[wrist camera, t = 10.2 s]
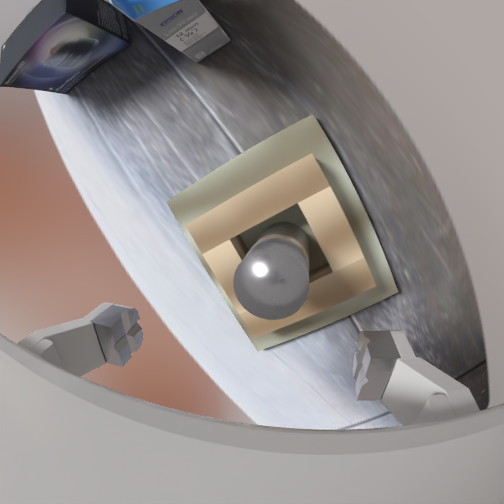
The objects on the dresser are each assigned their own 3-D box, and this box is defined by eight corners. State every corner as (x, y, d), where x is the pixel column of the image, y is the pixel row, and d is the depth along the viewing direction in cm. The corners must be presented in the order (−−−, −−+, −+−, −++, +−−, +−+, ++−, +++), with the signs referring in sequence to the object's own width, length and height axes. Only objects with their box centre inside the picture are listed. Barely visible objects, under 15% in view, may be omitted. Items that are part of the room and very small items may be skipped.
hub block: (170, 201, 24) (151, 206, 20) (312, 116, 19) (313, 106, 16) (259, 346, 26) (252, 367, 23) (395, 288, 22) (406, 305, 19)
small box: (65, 98, 23) (-4, 90, 13) (61, 60, 21) (-1, 47, 11) (133, 46, 20) (63, 12, 10) (124, 10, 18) (65, -25, 9)
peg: (259, 220, 22) (232, 247, 14) (310, 222, 21) (311, 252, 13) (258, 268, 23) (234, 316, 15) (307, 271, 22) (305, 322, 15)
